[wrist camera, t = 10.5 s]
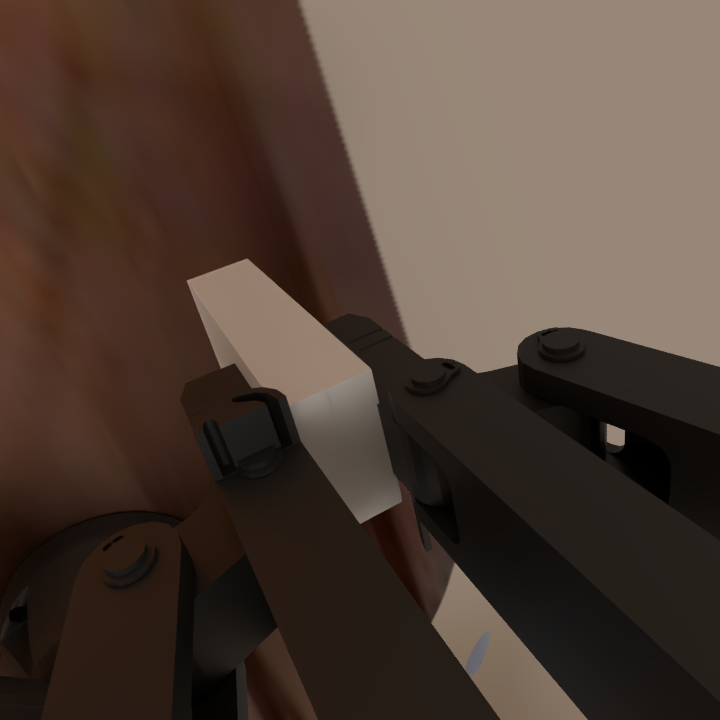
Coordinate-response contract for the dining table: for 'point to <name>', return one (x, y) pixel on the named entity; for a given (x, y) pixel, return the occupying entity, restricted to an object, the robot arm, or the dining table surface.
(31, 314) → the dining table surface
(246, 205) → the dining table surface
